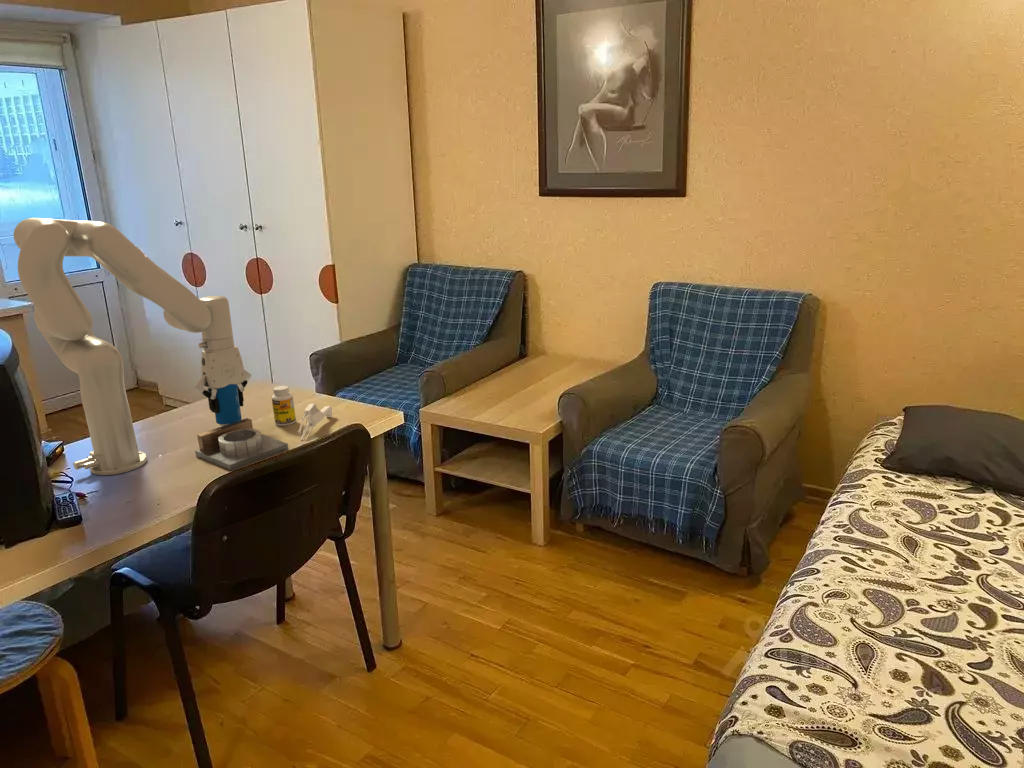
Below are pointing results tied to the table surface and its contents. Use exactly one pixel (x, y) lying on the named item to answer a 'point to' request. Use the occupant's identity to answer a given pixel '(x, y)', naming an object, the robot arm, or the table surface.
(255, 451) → the jig
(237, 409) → the beverage can
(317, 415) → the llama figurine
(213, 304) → the robot arm
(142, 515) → the table surface
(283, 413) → the supplement bottle
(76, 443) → the table surface
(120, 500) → the table surface
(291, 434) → the table surface
